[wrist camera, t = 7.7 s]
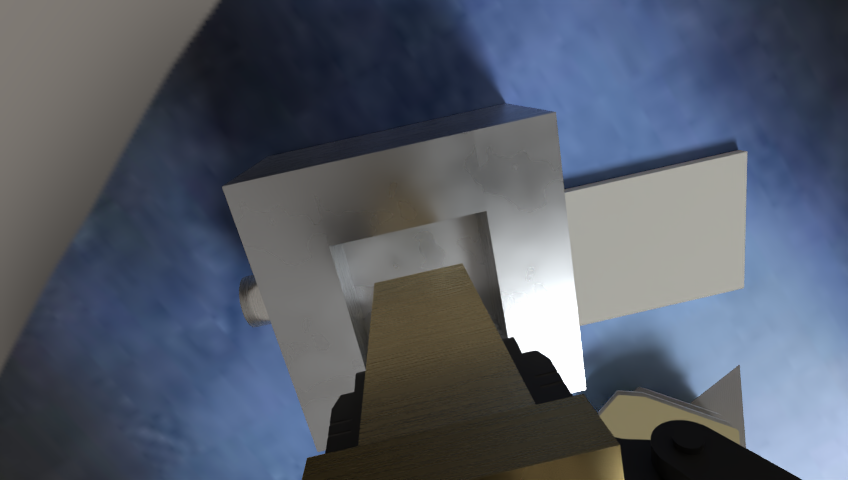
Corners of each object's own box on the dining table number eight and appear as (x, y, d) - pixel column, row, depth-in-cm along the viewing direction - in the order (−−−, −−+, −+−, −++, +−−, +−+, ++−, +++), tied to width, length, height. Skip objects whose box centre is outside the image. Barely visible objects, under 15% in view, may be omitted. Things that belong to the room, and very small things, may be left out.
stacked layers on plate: (739, 363, 30) (768, 375, 24) (750, 514, 28) (784, 560, 23) (573, 355, 33) (568, 364, 28) (577, 490, 32) (573, 525, 27)
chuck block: (506, 103, 23) (555, 112, 17) (536, 314, 27) (586, 389, 20) (227, 165, 23) (165, 199, 16) (299, 368, 27) (272, 462, 20)
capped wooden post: (475, 243, 17) (620, 445, 6) (496, 353, 18) (650, 682, 7) (353, 271, 16) (291, 522, 6) (382, 380, 18) (371, 750, 7)
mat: (738, 150, 25) (747, 151, 24) (736, 283, 28) (743, 288, 27) (556, 191, 25) (560, 193, 24) (571, 321, 27) (575, 326, 27)
